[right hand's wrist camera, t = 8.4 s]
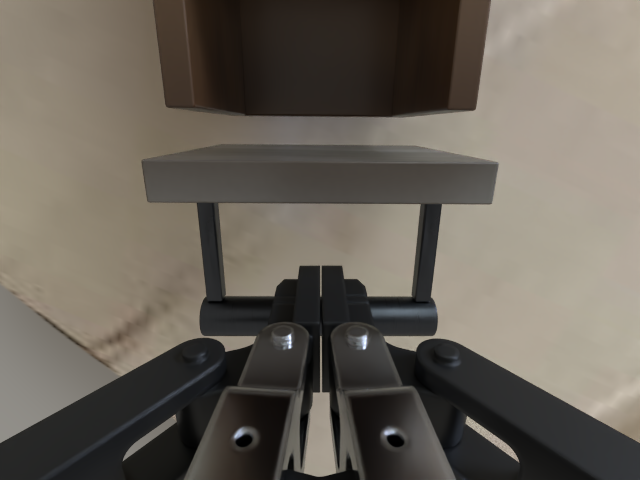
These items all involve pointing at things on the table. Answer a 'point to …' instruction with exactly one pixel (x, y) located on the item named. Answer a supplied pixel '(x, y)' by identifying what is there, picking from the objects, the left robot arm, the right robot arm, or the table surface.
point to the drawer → (320, 101)
